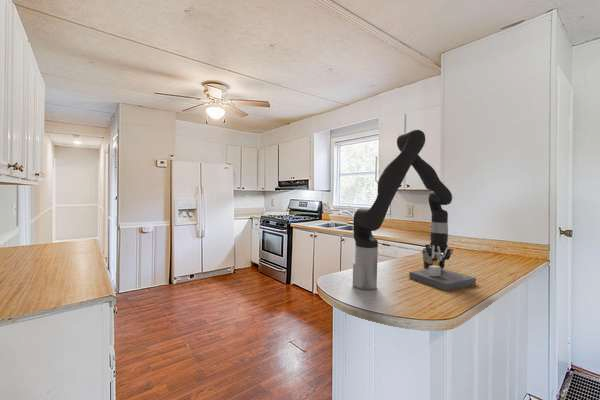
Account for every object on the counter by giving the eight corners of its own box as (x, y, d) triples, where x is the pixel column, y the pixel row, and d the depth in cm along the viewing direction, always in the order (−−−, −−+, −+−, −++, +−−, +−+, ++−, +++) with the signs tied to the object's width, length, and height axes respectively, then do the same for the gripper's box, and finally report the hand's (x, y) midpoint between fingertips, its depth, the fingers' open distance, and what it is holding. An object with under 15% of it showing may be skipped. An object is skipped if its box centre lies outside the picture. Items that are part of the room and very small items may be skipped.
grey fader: (434, 276, 122) (434, 267, 122) (428, 274, 125) (428, 266, 125) (440, 275, 124) (440, 266, 124) (434, 273, 127) (434, 265, 127)
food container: (440, 266, 154) (441, 248, 154) (445, 269, 148) (446, 250, 148) (417, 265, 156) (418, 247, 155) (421, 268, 150) (422, 249, 149)
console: (446, 291, 114) (446, 283, 114) (409, 278, 131) (409, 271, 131) (475, 284, 123) (475, 277, 123) (437, 273, 140) (437, 267, 140)
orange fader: (438, 270, 132) (438, 262, 132) (432, 269, 134) (432, 261, 134) (443, 269, 134) (443, 261, 133) (437, 268, 136) (438, 260, 136)
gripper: (421, 230, 138) (420, 264, 138) (447, 233, 126) (446, 271, 126) (431, 229, 142) (430, 263, 142) (458, 233, 129) (456, 269, 129)
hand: (438, 266), depth 134 cm, fingers closed on orange fader, 3 cm apart
